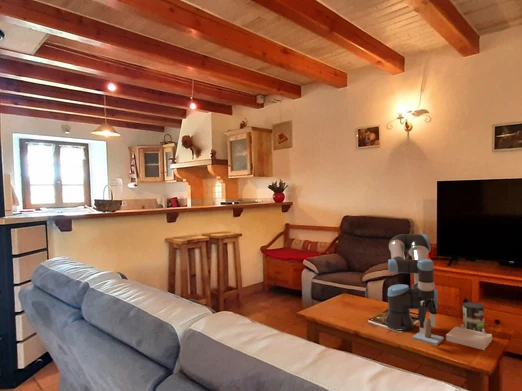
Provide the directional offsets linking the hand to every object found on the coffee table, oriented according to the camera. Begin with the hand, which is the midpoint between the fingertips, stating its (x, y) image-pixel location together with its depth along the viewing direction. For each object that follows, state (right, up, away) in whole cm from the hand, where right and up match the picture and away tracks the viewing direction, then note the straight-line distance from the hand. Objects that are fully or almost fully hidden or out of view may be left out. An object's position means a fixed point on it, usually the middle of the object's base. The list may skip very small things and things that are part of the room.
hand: (427, 329), depth 183 cm
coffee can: (+30, -4, +9) cm, 32 cm away
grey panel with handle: (0, -5, 0) cm, 5 cm away
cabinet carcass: (+20, -4, -3) cm, 21 cm away
